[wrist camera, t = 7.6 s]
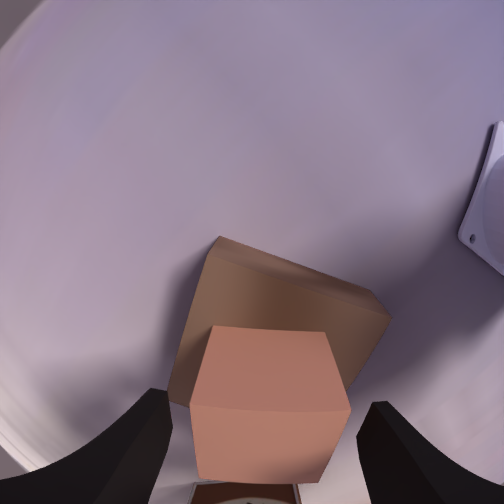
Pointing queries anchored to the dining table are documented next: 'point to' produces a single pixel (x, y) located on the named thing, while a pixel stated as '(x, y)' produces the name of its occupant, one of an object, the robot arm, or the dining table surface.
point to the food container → (243, 493)
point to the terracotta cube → (267, 406)
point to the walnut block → (275, 310)
